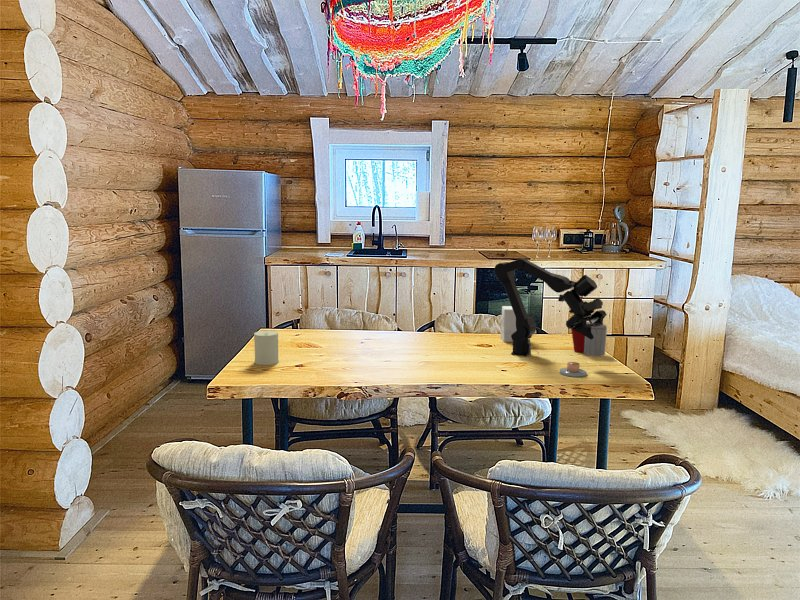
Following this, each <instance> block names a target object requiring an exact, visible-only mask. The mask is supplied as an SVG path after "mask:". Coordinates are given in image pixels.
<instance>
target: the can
mask: <svg viewBox="0 0 800 600" xmlns="http://www.w3.org/2000/svg"><path fill="white" fill-rule="evenodd" d="M253 337H254V338H253V340H254V364H255V365H257V364H258V366H273V365H272V364H274V365H277V364H279V362H280V361H279V332H278V331H275V330H258V331H255V332H254V333H253ZM276 363H277V364H276Z"/></svg>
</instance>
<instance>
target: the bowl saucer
mask: <svg viewBox="0 0 800 600" xmlns="http://www.w3.org/2000/svg"><path fill="white" fill-rule="evenodd" d="M559 374H560V375H562V376H565V377H571V378H583V377H586V376H587V371H586V370H584V369H582V368H580V363H579V362H576V361H568V362H566V367H563V368H560V369H559Z"/></svg>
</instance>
